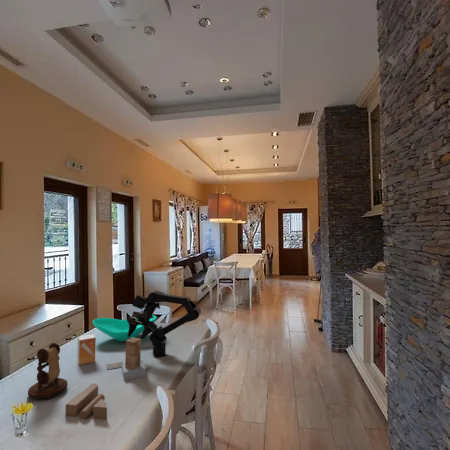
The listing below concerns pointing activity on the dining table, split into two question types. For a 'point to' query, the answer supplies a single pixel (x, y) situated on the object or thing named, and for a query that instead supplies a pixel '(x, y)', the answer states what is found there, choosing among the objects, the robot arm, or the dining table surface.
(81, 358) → the small box
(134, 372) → the slate block
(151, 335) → the robot arm
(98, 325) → the table top decor
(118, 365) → the card
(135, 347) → the walnut column
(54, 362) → the scroll
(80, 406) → the wooden block set
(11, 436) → the dining table surface
